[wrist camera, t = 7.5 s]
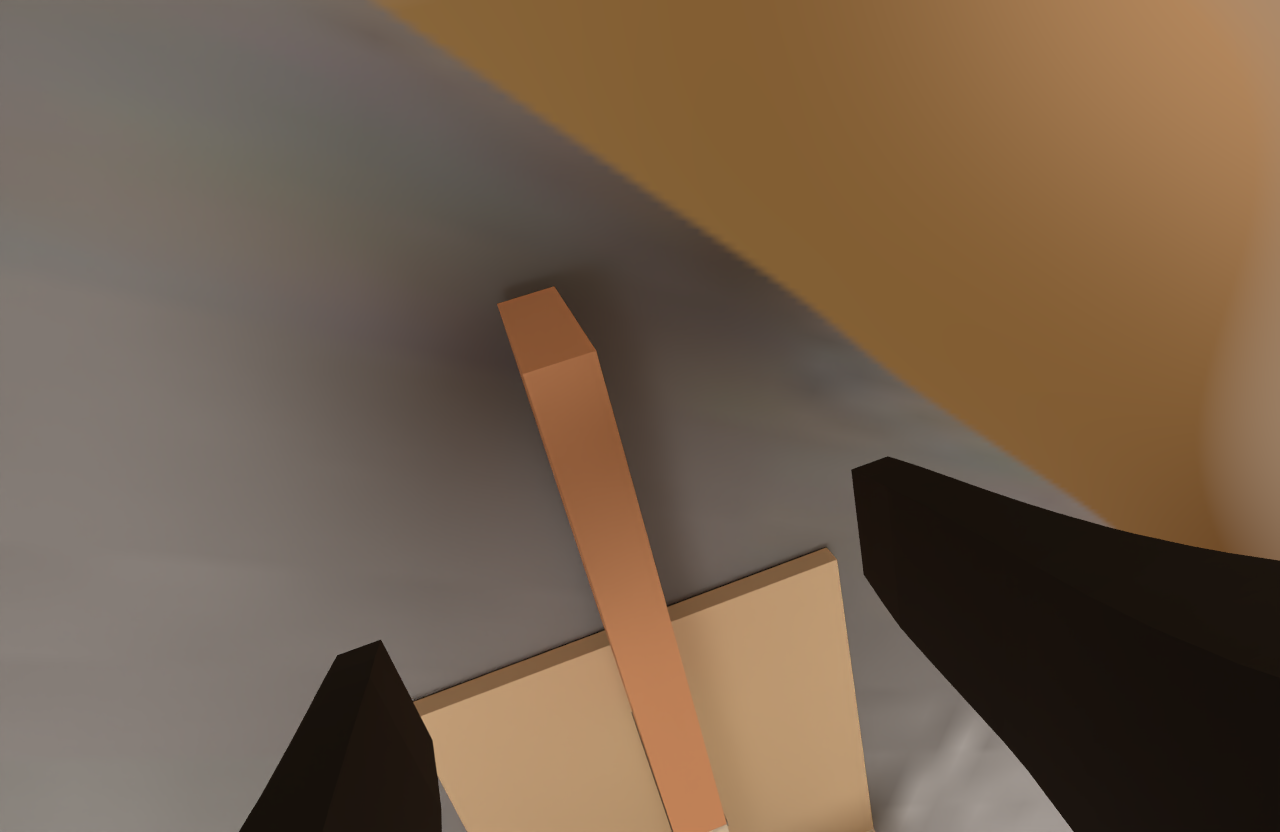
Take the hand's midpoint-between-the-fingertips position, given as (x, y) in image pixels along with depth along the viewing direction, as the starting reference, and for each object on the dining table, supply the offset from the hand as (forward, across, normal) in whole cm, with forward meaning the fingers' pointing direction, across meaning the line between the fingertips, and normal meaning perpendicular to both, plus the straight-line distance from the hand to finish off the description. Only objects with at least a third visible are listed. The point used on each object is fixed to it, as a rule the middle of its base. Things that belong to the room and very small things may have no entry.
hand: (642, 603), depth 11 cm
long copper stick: (+6, 0, +7) cm, 9 cm away
